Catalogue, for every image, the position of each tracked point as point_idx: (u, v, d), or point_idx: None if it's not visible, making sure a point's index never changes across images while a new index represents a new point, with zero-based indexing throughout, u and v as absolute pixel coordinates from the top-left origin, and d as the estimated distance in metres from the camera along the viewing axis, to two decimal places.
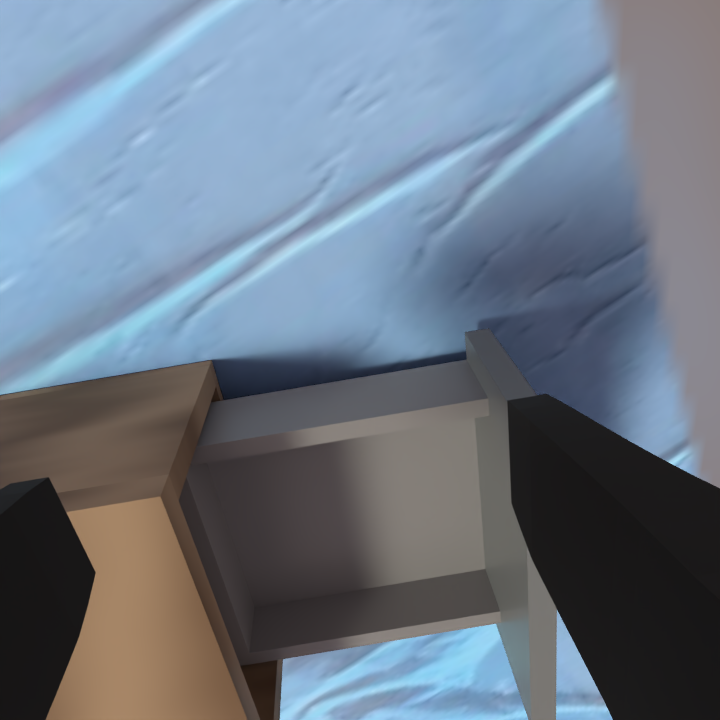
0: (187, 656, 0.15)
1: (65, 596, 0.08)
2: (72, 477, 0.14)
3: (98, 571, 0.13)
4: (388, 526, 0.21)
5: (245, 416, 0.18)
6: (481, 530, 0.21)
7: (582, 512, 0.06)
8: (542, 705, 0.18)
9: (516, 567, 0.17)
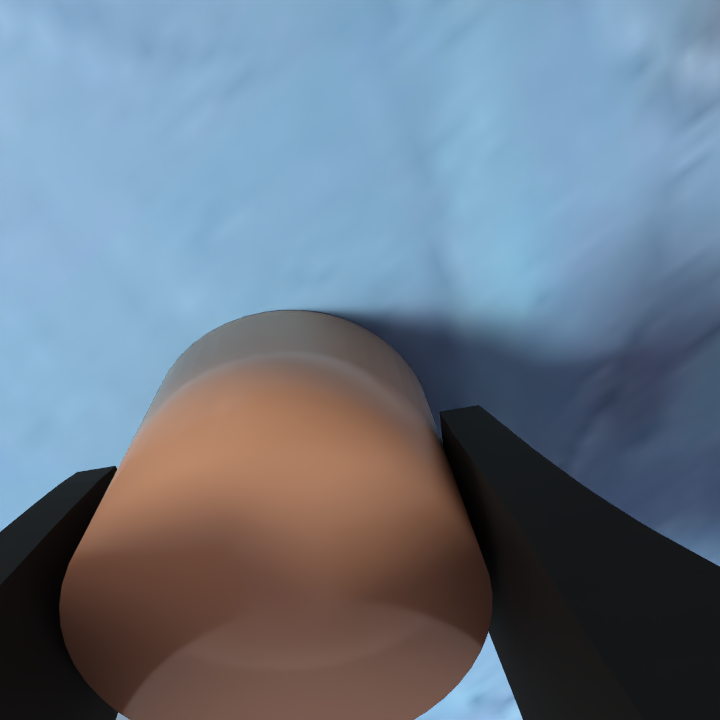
0: None
1: None
2: None
3: None
4: None
5: None
6: None
7: (492, 527, 0.06)
8: None
9: None
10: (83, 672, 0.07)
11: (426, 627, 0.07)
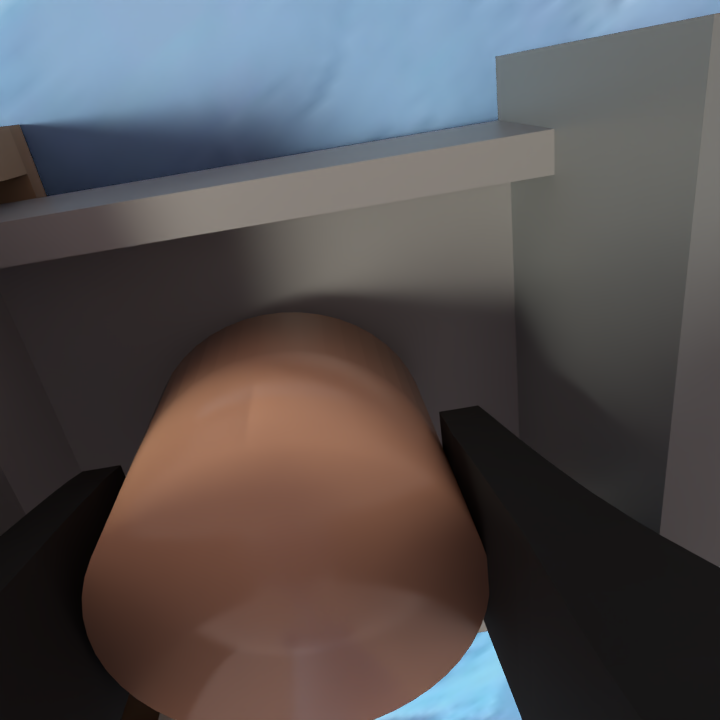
0: None
1: None
2: None
3: None
4: None
5: (59, 202, 0.09)
6: None
7: (491, 527, 0.06)
8: None
9: (617, 494, 0.08)
10: (94, 644, 0.07)
11: (425, 619, 0.07)
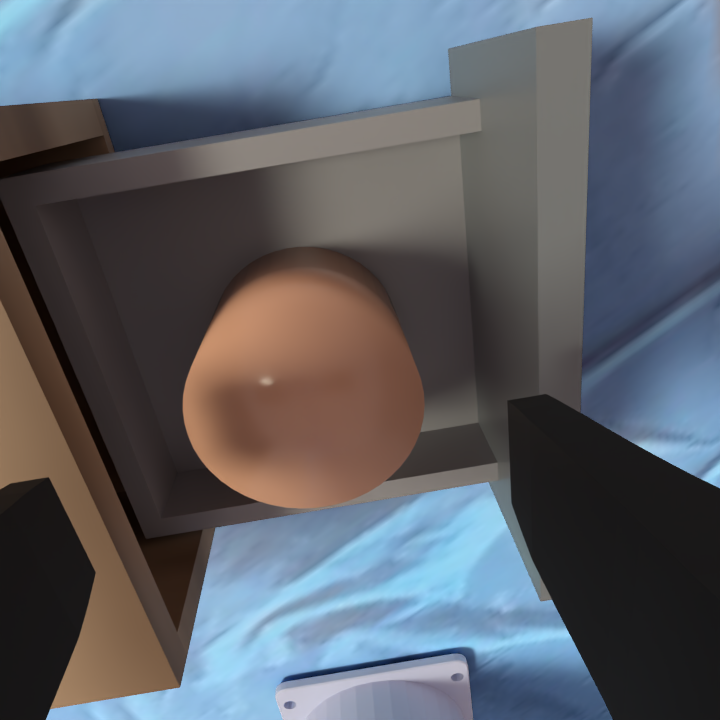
0: (14, 450, 0.10)
1: (65, 596, 0.08)
2: None
3: None
4: None
5: (134, 152, 0.12)
6: (473, 363, 0.16)
7: (582, 512, 0.06)
8: None
9: (520, 347, 0.11)
10: (188, 429, 0.12)
11: (386, 423, 0.12)
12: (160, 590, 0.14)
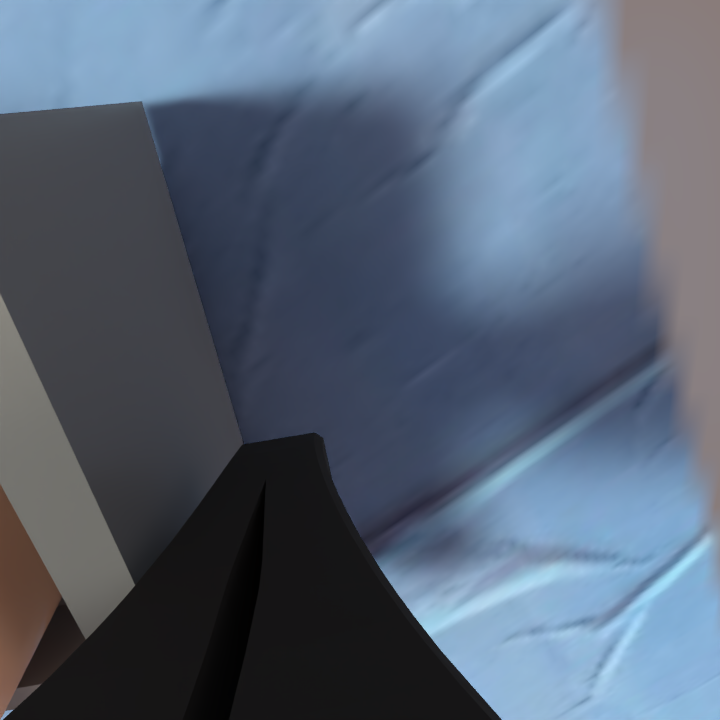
0: None
1: None
2: None
3: None
4: None
5: None
6: None
7: None
8: None
9: None
10: None
11: None
12: None
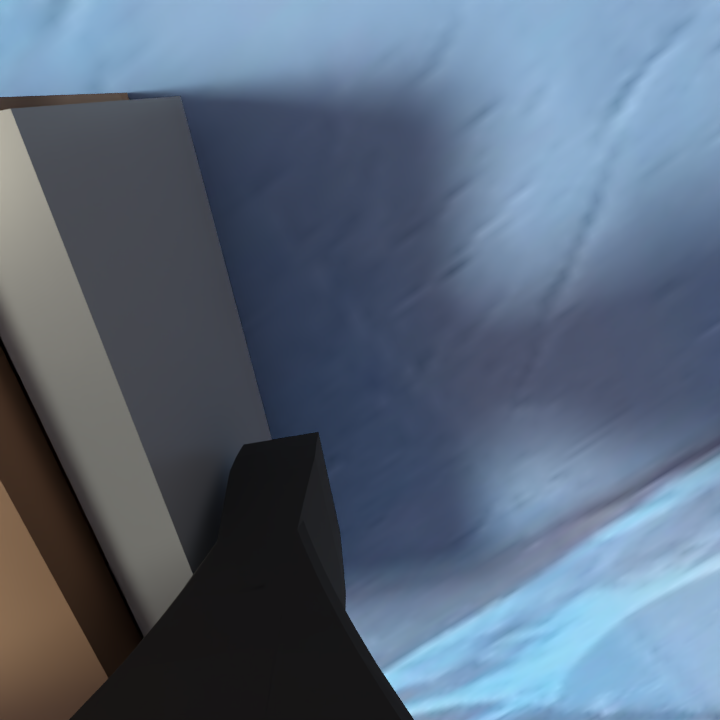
0: (10, 669, 0.06)
1: (337, 551, 0.08)
2: None
3: None
4: None
5: None
6: None
7: None
8: None
9: None
10: None
11: None
12: None
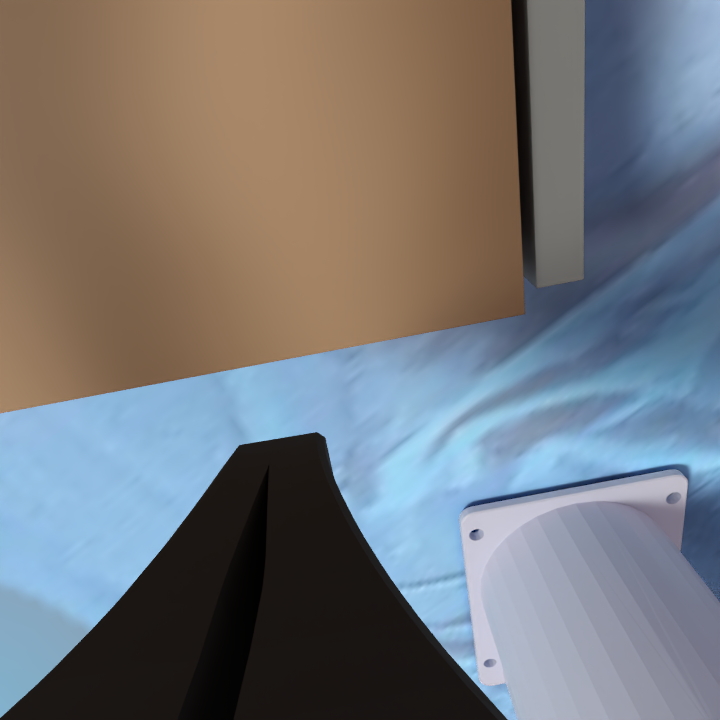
0: None
1: None
2: None
3: None
4: None
5: None
6: None
7: None
8: (557, 219, 0.09)
9: None
10: None
11: None
12: None
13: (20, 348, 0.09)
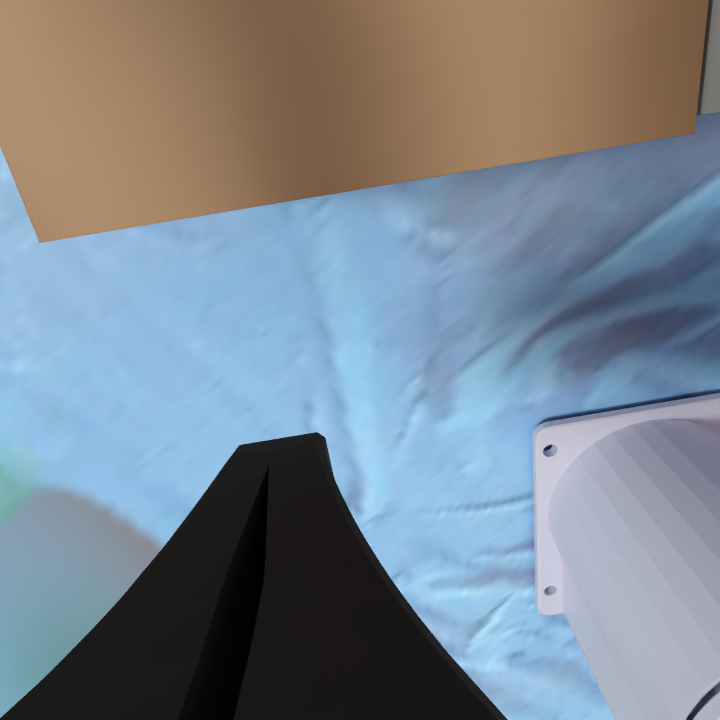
0: None
1: None
2: None
3: None
4: None
5: None
6: None
7: None
8: None
9: None
10: None
11: None
12: None
13: (203, 147, 0.09)
